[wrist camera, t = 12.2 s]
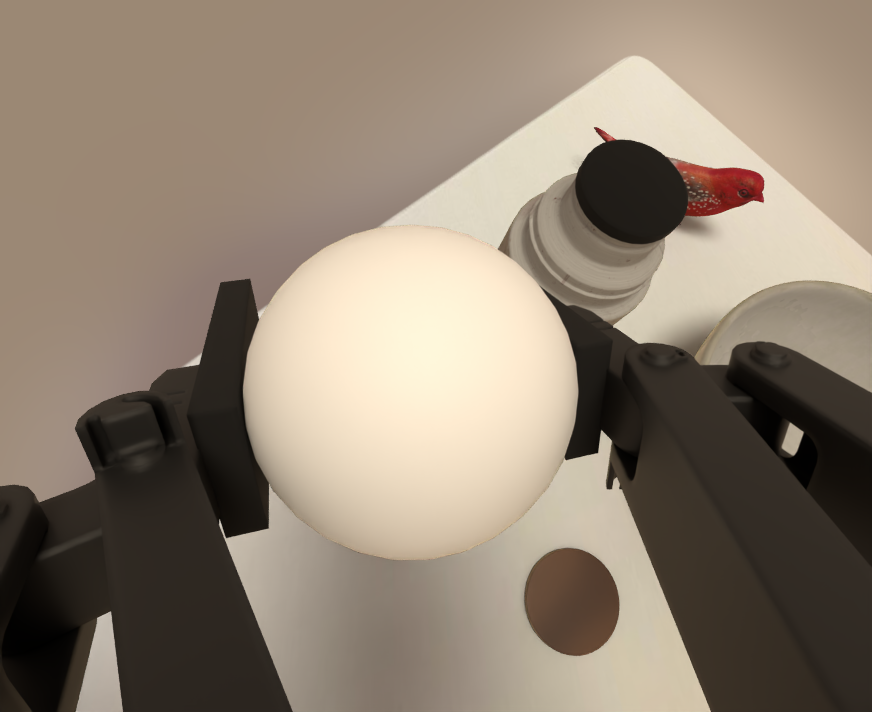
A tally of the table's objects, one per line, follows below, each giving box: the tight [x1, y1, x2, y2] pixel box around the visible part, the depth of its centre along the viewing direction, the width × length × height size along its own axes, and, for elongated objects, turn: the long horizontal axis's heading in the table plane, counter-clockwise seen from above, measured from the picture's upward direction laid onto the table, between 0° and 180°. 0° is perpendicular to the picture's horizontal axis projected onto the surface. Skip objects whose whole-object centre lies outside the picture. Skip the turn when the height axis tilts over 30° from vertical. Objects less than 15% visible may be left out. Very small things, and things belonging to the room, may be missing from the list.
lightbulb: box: [243, 225, 578, 560], centre depth 12 cm, size 6×6×11 cm
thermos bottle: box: [498, 140, 688, 326], centre depth 35 cm, size 8×8×28 cm
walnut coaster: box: [525, 548, 619, 656], centre depth 43 cm, size 8×8×1 cm
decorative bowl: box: [694, 281, 872, 456], centre depth 44 cm, size 27×27×12 cm
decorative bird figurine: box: [594, 127, 764, 225], centre depth 53 cm, size 3×18×10 cm, turn 62°
